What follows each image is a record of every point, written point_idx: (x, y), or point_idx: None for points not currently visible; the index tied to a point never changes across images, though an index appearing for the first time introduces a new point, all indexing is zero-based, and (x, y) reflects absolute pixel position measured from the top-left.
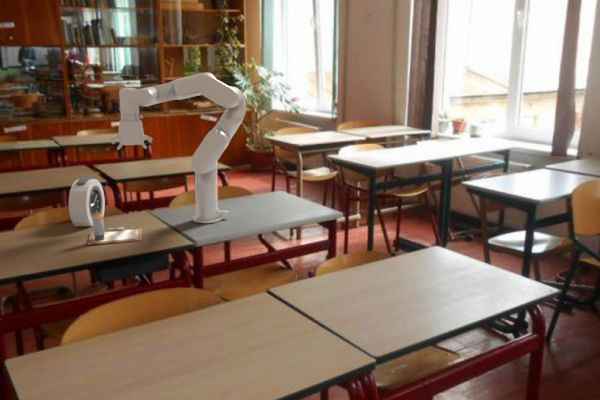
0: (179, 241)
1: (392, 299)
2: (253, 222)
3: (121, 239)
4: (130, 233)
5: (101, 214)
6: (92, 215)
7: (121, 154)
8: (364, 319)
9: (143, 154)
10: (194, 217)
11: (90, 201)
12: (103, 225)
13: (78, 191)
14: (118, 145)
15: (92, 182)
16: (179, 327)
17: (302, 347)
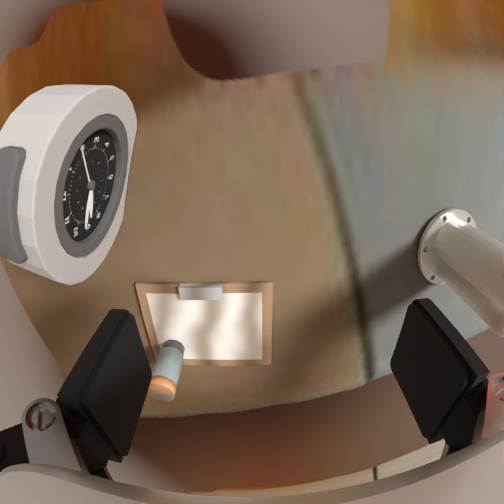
0: (346, 374)
1: (433, 460)
2: None
3: (225, 358)
4: (242, 323)
5: (170, 394)
6: (149, 394)
7: (139, 414)
8: None
9: (404, 392)
10: (426, 244)
11: (79, 219)
12: (179, 374)
13: (32, 271)
14: (37, 455)
15: (40, 229)
16: (291, 490)
17: None
